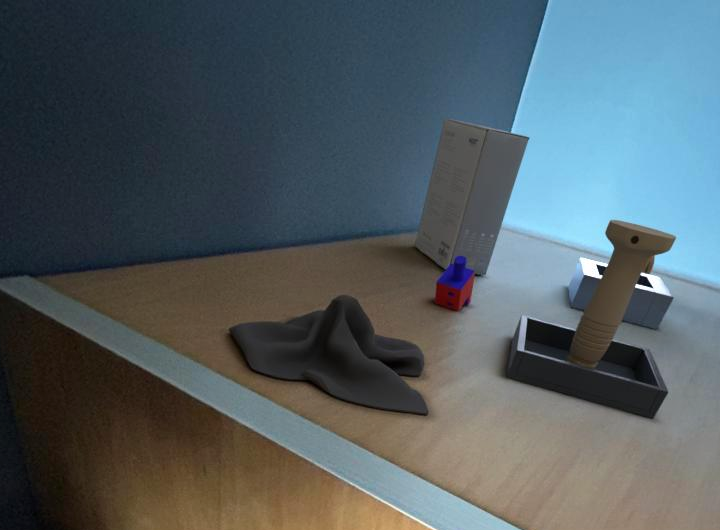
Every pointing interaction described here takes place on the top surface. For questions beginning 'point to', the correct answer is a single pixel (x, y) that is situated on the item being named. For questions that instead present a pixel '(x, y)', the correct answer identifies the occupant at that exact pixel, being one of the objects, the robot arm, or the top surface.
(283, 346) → the cloth
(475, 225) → the hard drive box
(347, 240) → the top surface
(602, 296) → the handle
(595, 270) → the block
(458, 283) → the toy building block
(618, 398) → the basin
